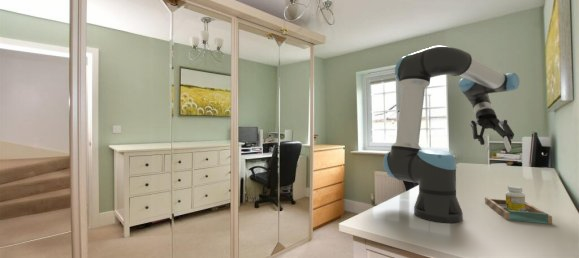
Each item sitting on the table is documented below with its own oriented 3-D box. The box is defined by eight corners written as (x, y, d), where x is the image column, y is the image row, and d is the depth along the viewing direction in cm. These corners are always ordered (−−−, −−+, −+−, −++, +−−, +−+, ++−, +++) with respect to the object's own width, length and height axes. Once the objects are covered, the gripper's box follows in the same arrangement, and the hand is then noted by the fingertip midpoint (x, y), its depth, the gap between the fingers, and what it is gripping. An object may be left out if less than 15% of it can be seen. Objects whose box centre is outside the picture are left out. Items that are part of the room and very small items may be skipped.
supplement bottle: (526, 216, 91) (525, 189, 91) (506, 213, 94) (505, 187, 94) (524, 212, 95) (524, 186, 95) (505, 210, 98) (505, 185, 98)
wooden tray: (485, 203, 108) (485, 196, 108) (521, 206, 103) (521, 198, 103) (506, 219, 88) (505, 210, 88) (552, 224, 83) (551, 214, 83)
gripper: (508, 118, 121) (525, 156, 106) (459, 120, 129) (468, 155, 114) (512, 106, 117) (531, 143, 101) (461, 108, 124) (471, 143, 109)
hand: (498, 149), depth 108 cm, fingers open, 7 cm apart
